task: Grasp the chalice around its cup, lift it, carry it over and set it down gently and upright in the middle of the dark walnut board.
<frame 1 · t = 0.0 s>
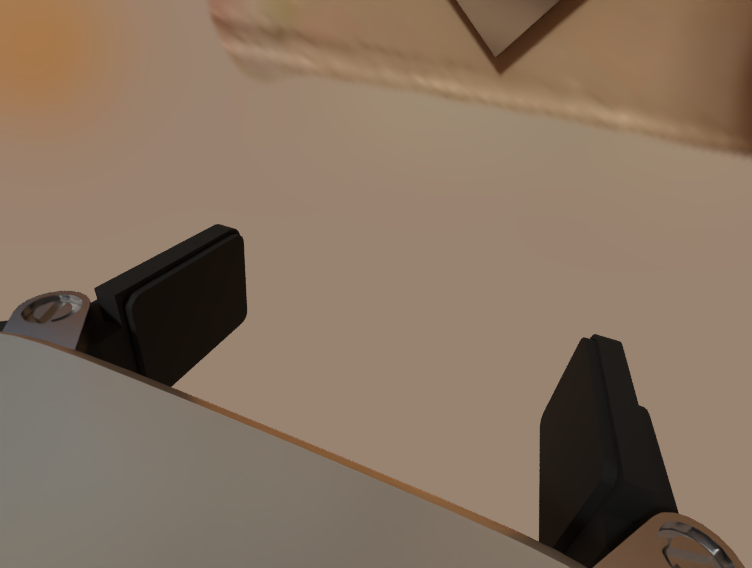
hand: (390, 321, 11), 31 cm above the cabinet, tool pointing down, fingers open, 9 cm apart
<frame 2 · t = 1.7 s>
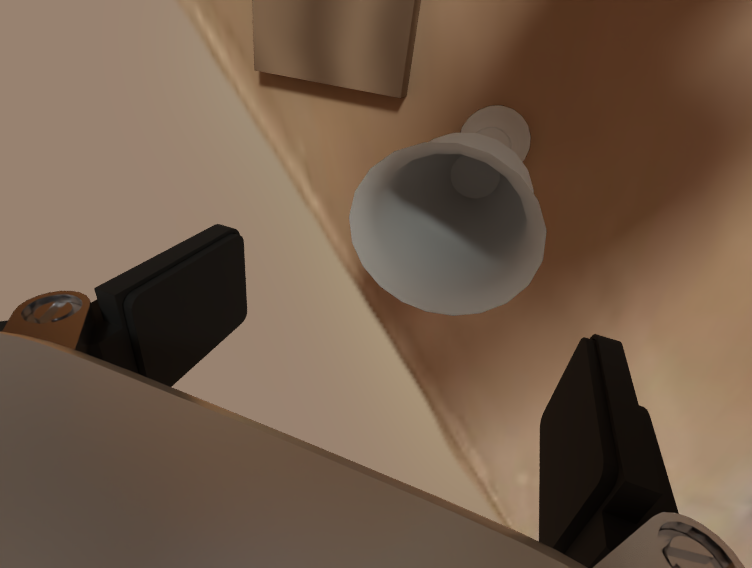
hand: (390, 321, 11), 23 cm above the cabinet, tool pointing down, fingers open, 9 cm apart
chalice: (493, 142, 30), on the cabinet
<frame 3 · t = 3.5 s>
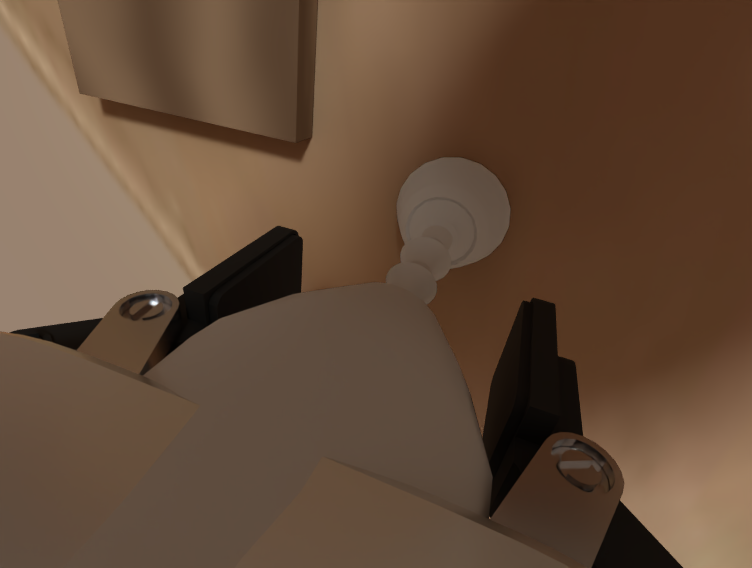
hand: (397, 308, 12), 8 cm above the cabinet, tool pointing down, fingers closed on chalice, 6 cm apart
chalice: (451, 213, 18), on the cabinet, touching gripper
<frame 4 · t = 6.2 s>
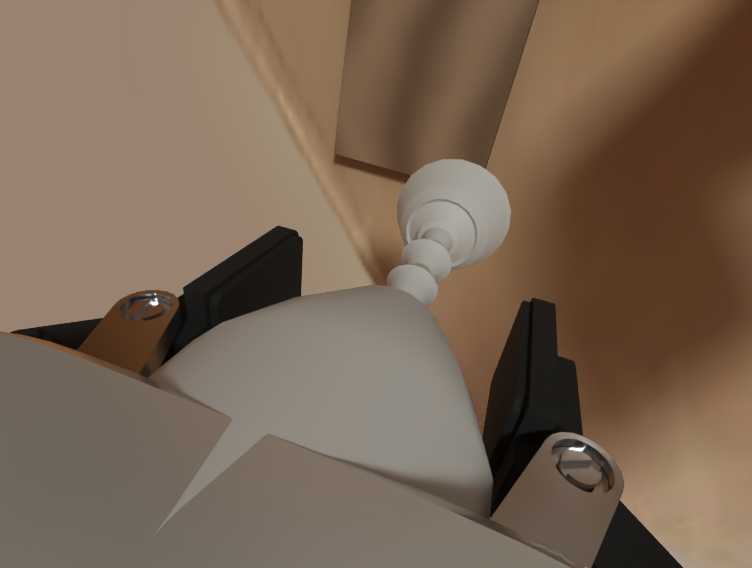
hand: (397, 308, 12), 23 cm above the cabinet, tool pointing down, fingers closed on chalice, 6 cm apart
walnut board: (428, 75, 30), on the cabinet
chalice: (452, 214, 18), point 15 cm above the cabinet, touching gripper
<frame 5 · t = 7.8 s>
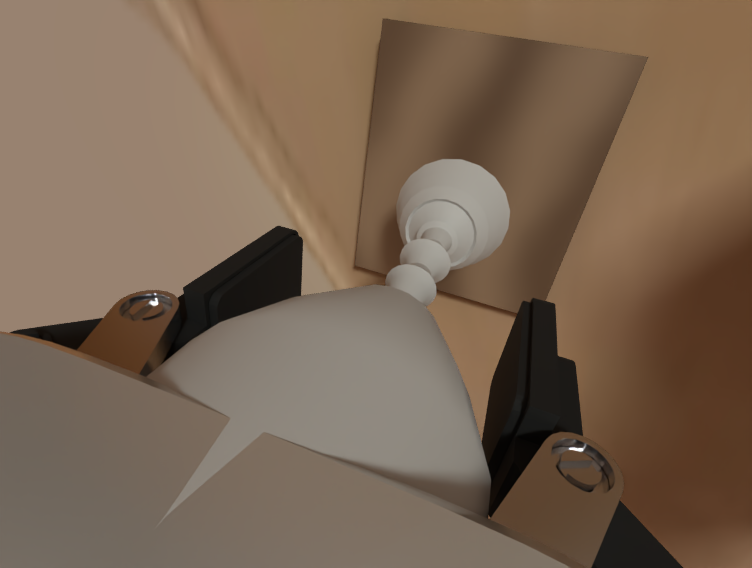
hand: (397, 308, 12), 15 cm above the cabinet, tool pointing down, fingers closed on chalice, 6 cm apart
walnut board: (472, 177, 24), on the cabinet
chalice: (451, 214, 18), point 6 cm above the cabinet, touching gripper
when the fingers open (10 cm above the cabinet, at t = 9.1 s): chalice stays where it is, resting on walnut board.
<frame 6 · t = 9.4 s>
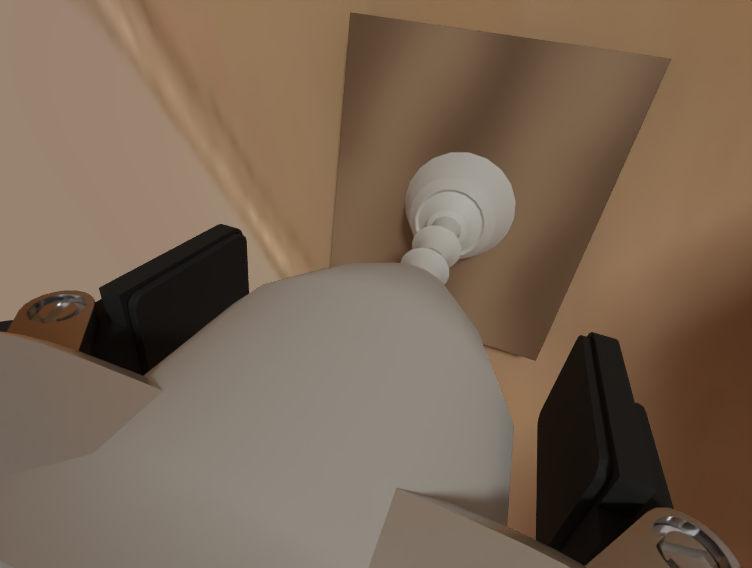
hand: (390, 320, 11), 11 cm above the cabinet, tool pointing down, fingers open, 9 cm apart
walnut board: (459, 198, 20), on the cabinet
chalice: (458, 206, 19), point 1 cm above the cabinet, touching walnut board
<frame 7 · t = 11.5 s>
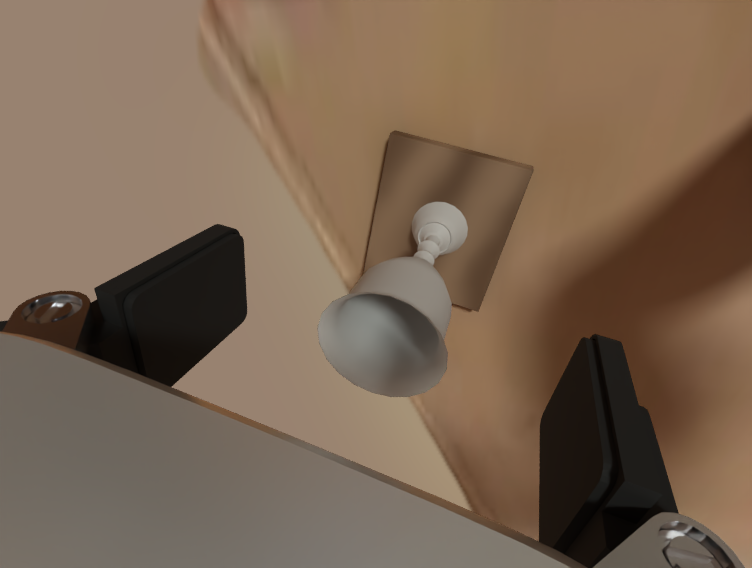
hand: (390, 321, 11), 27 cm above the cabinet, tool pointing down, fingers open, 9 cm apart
walnut board: (440, 223, 38), on the cabinet
chalice: (439, 228, 37), point 1 cm above the cabinet, touching walnut board
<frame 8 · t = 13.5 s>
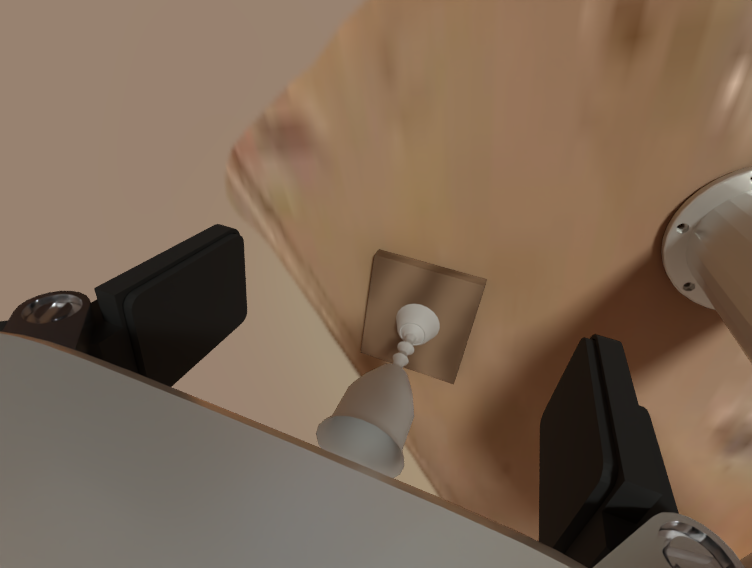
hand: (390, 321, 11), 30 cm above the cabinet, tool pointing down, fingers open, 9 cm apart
walnut board: (419, 315, 48), on the cabinet
chalice: (417, 321, 46), point 1 cm above the cabinet, touching walnut board
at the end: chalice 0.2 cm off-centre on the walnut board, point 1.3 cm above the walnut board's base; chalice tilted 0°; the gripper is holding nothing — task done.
